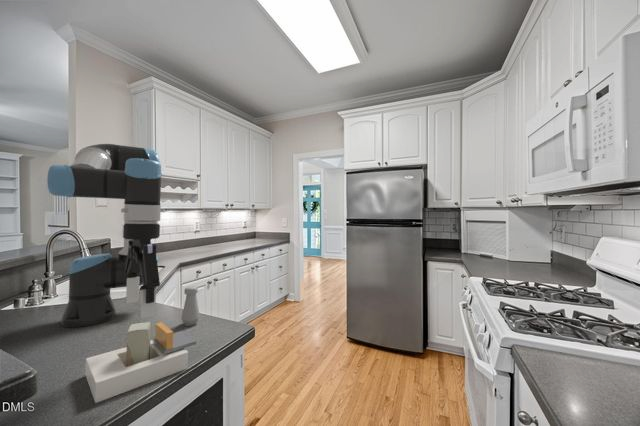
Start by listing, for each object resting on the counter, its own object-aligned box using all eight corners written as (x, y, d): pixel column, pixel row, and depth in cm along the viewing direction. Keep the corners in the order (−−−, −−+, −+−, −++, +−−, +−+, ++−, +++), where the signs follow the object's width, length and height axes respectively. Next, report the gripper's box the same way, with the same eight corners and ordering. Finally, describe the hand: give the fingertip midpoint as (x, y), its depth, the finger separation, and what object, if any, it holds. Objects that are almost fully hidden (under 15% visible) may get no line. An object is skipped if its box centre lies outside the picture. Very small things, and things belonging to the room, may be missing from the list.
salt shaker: (192, 327, 93) (192, 289, 93) (177, 326, 94) (178, 288, 94) (202, 321, 99) (203, 285, 99) (188, 320, 100) (189, 284, 100)
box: (129, 368, 68) (131, 323, 68) (150, 364, 69) (151, 320, 70) (125, 379, 63) (126, 331, 63) (147, 375, 65) (148, 328, 65)
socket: (85, 375, 64) (86, 358, 64) (168, 349, 77) (168, 335, 78) (95, 403, 55) (95, 383, 55) (188, 368, 68) (188, 352, 68)
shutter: (152, 342, 73) (153, 323, 73) (182, 333, 78) (182, 316, 78) (164, 354, 66) (165, 334, 66) (196, 344, 72) (196, 325, 72)
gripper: (112, 220, 73) (110, 300, 73) (138, 224, 56) (135, 328, 56) (145, 220, 78) (142, 294, 78) (177, 224, 61) (174, 319, 61)
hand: (139, 309), depth 67 cm, fingers open, 13 cm apart
